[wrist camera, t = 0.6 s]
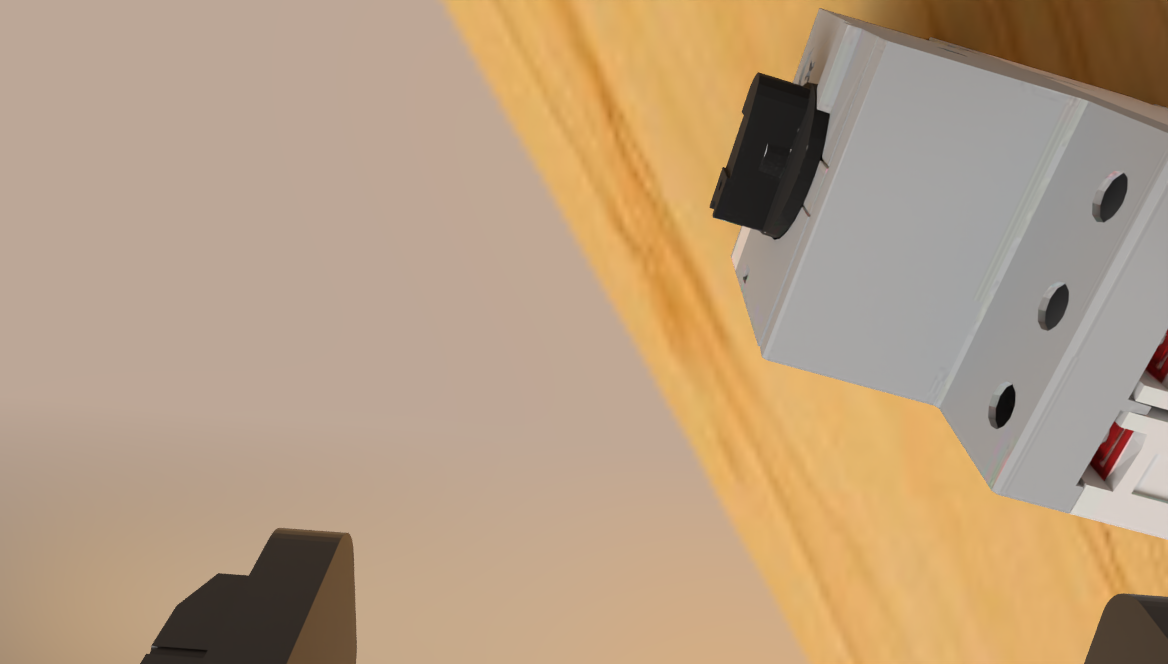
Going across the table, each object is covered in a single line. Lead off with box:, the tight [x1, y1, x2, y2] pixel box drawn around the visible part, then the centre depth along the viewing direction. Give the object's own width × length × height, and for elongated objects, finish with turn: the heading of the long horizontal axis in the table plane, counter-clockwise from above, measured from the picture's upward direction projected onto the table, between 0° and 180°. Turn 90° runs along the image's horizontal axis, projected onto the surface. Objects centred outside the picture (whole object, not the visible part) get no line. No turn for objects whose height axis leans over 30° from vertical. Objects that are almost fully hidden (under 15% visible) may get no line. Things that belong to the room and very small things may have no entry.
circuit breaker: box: [710, 8, 1168, 540], centre depth 25 cm, size 8×14×15 cm, turn 75°
